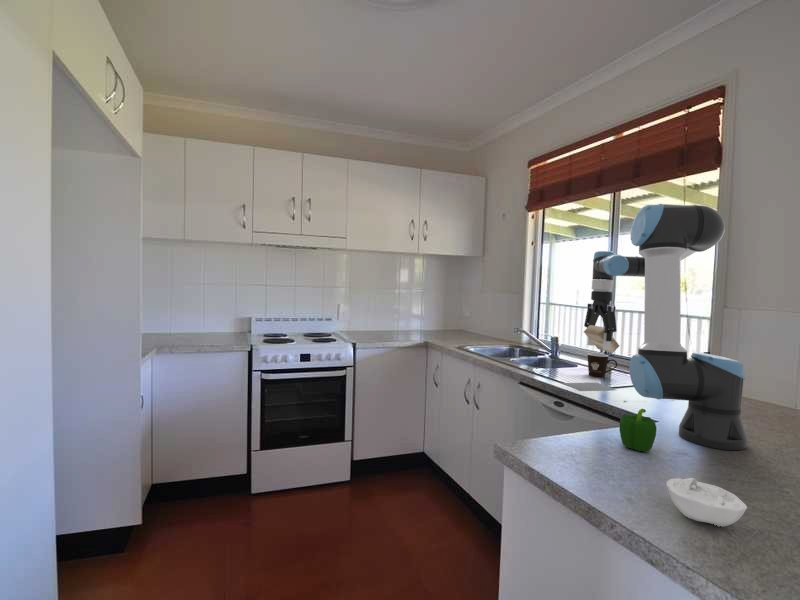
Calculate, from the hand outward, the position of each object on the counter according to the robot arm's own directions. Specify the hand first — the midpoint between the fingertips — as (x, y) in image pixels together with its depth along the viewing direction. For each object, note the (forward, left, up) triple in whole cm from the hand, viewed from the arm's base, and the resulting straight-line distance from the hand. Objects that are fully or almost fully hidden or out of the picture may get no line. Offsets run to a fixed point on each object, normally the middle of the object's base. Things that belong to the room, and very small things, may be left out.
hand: (598, 347), depth 173 cm
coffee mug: (+20, +4, -16) cm, 26 cm away
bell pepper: (-60, -26, -16) cm, 67 cm away
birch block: (+3, -3, 0) cm, 5 cm away
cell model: (-89, -42, -16) cm, 100 cm away
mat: (-3, +2, -16) cm, 17 cm away
